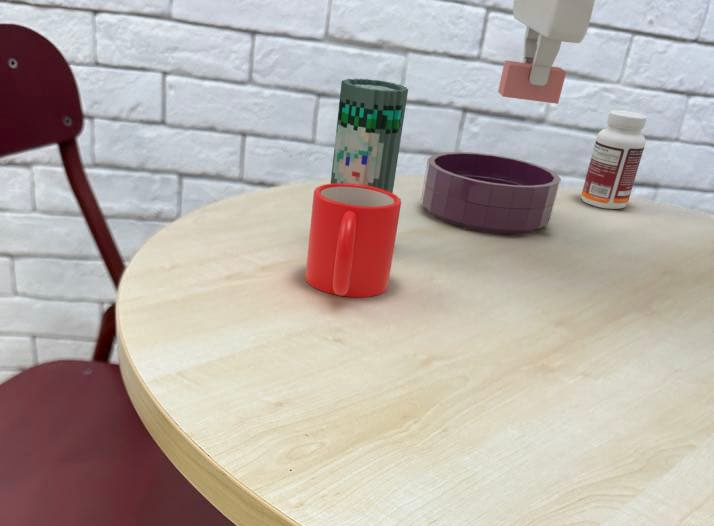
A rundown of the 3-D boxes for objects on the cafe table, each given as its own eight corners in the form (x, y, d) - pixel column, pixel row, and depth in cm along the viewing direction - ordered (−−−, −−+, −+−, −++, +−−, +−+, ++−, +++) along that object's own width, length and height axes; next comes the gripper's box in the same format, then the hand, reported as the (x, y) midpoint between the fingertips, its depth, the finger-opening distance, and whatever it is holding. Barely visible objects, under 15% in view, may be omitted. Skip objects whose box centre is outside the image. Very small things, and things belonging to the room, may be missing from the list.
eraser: (552, 98, 92) (560, 67, 90) (558, 103, 89) (566, 71, 88) (497, 91, 92) (504, 60, 90) (502, 96, 89) (509, 64, 87)
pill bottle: (617, 199, 117) (644, 111, 110) (632, 212, 112) (661, 121, 105) (574, 195, 116) (598, 106, 110) (587, 207, 111) (613, 116, 105)
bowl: (535, 205, 110) (546, 160, 106) (559, 243, 97) (573, 193, 94) (415, 192, 109) (423, 146, 106) (425, 228, 97) (434, 177, 93)
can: (317, 244, 88) (334, 83, 79) (337, 229, 93) (355, 76, 84) (372, 256, 87) (395, 94, 78) (390, 241, 91) (414, 86, 82)
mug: (295, 307, 74) (304, 214, 69) (309, 262, 83) (318, 178, 79) (385, 318, 74) (400, 226, 69) (388, 272, 83) (402, 189, 79)
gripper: (633, -74, 73) (585, 102, 81) (578, -78, 89) (542, 70, 98) (561, -84, 73) (520, 94, 81) (519, -86, 89) (488, 63, 97)
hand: (532, 80), depth 90 cm, fingers closed on eraser, 3 cm apart
